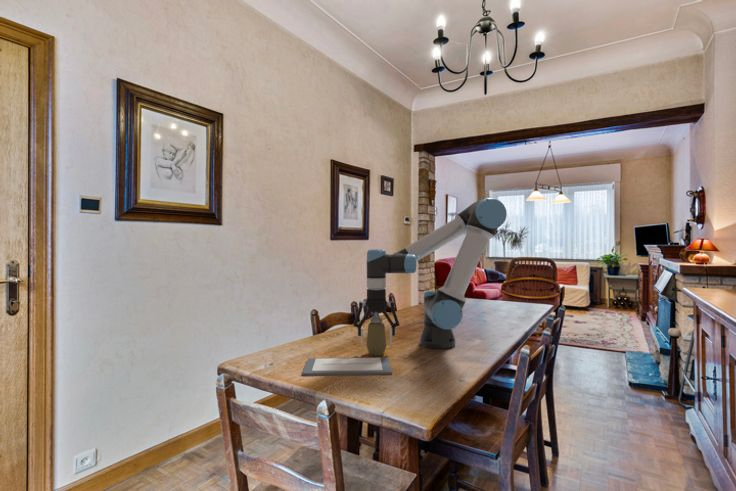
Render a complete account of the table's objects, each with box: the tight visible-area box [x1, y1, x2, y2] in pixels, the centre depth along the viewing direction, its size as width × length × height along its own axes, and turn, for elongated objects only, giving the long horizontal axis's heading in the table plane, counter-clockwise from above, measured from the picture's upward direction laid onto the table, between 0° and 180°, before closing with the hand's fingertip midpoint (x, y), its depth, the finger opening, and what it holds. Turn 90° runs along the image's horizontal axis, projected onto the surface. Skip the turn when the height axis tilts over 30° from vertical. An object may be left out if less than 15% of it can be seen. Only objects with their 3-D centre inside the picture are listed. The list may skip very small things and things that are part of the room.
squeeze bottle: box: [366, 312, 387, 357], centre depth 152 cm, size 8×8×18 cm
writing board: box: [301, 356, 393, 377], centre depth 137 cm, size 30×16×1 cm, turn 92°
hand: (376, 344), depth 152 cm, fingers open, 11 cm apart
